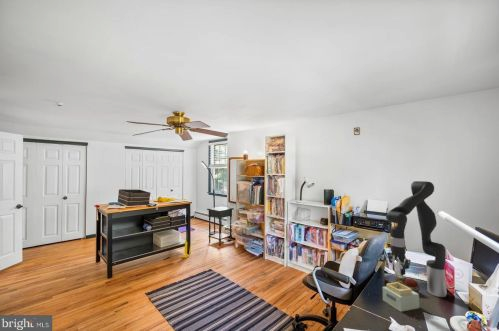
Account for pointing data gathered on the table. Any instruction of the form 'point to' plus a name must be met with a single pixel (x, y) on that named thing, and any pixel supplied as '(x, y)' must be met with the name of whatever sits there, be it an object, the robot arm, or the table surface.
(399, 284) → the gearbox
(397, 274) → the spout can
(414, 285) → the figurine
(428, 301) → the table surface
